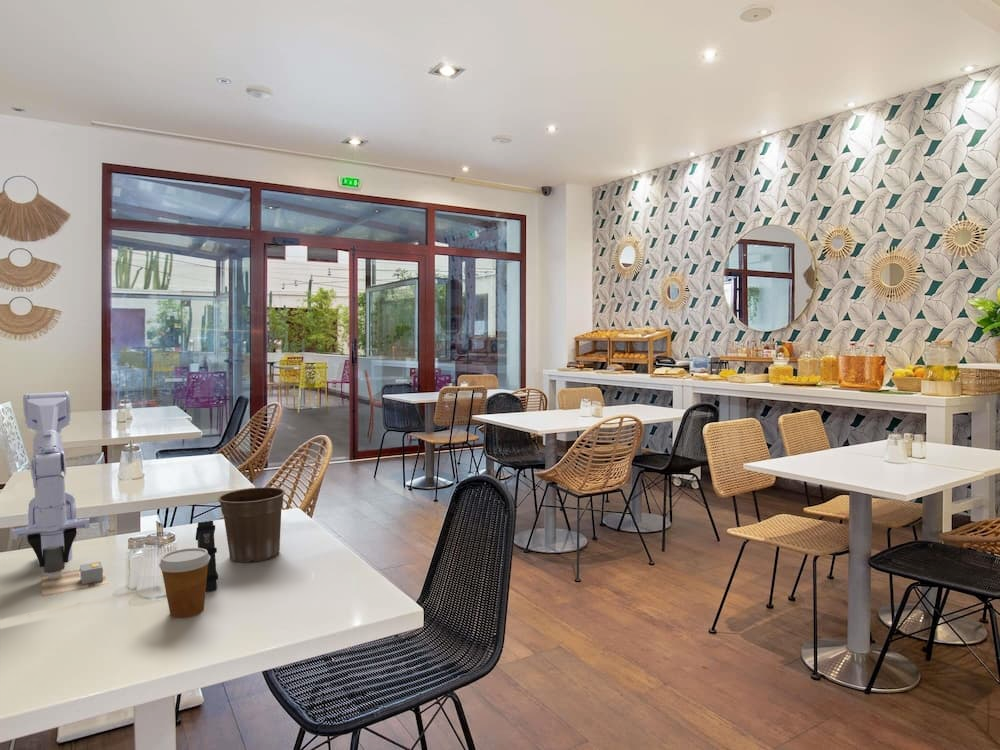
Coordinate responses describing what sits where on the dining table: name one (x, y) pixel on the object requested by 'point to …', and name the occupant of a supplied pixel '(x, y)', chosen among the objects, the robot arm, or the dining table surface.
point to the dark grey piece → (53, 561)
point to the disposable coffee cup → (185, 580)
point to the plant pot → (252, 522)
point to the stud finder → (91, 572)
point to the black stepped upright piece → (207, 542)
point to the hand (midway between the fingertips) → (53, 563)
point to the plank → (66, 583)
